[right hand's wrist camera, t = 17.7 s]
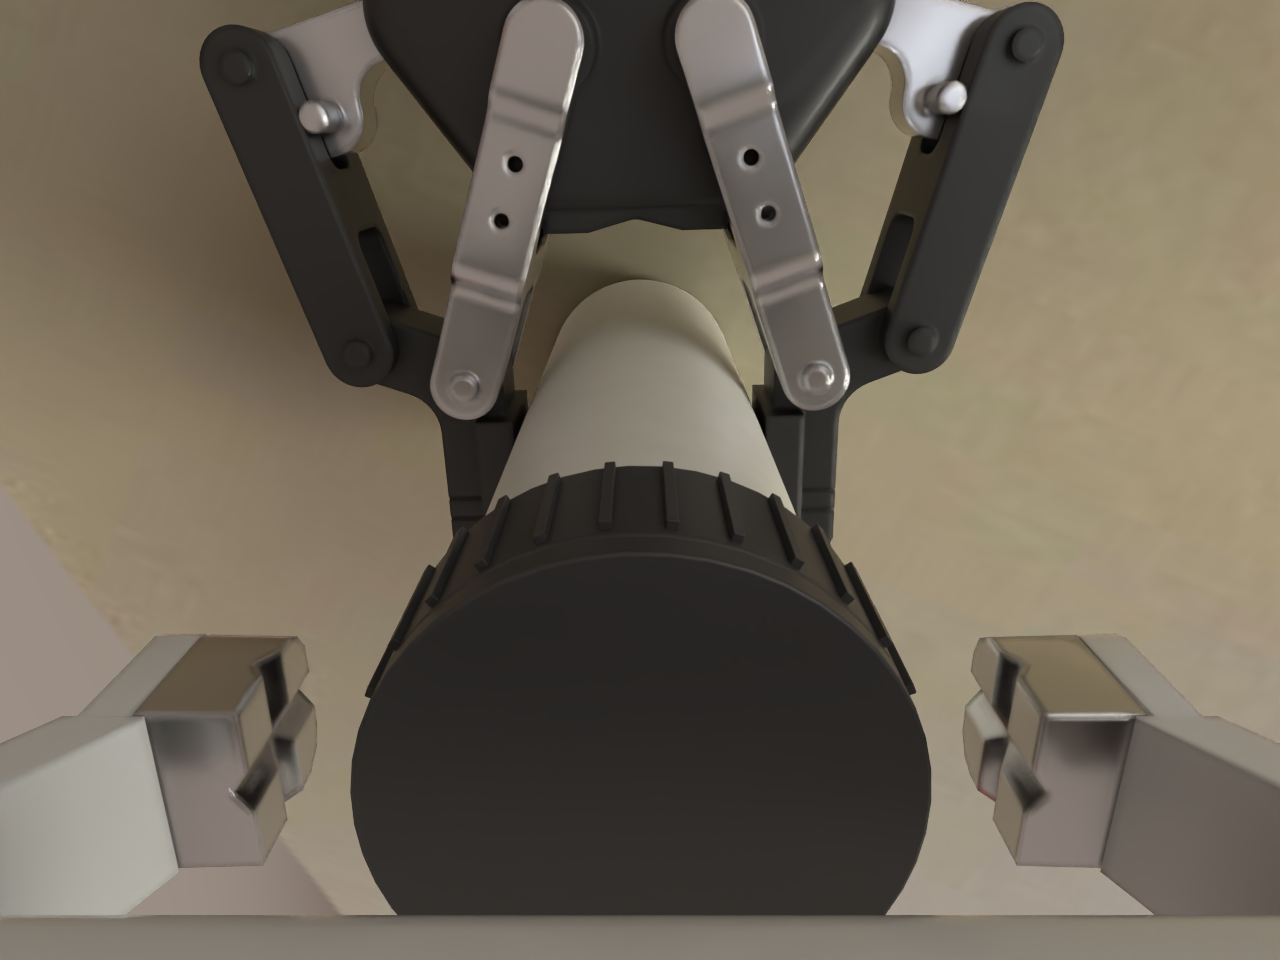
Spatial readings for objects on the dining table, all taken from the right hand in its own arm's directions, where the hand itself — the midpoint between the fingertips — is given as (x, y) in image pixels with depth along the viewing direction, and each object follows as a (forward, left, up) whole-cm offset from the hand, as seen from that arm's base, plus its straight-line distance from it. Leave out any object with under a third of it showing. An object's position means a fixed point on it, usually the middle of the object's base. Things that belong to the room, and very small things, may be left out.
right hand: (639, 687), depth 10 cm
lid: (0, 0, +2) cm, 2 cm away
